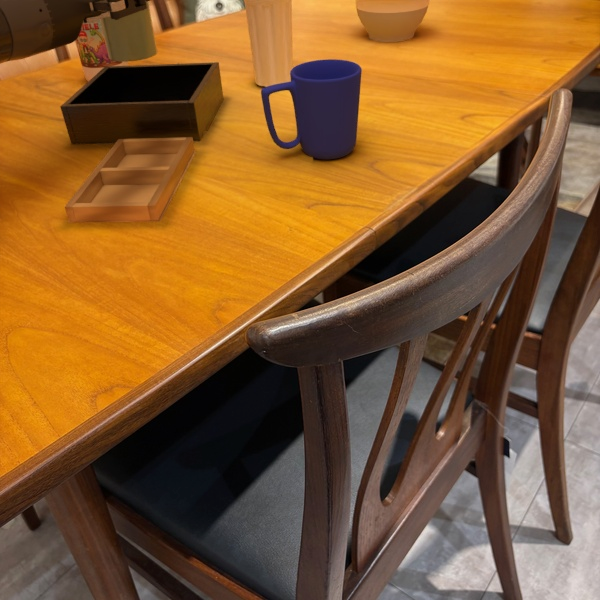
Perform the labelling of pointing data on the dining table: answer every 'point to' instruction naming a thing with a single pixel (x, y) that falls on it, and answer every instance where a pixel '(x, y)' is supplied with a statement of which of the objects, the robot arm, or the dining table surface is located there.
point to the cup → (270, 40)
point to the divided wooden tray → (133, 181)
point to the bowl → (391, 18)
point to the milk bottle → (94, 50)
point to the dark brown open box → (144, 103)
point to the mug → (321, 107)
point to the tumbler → (130, 36)
